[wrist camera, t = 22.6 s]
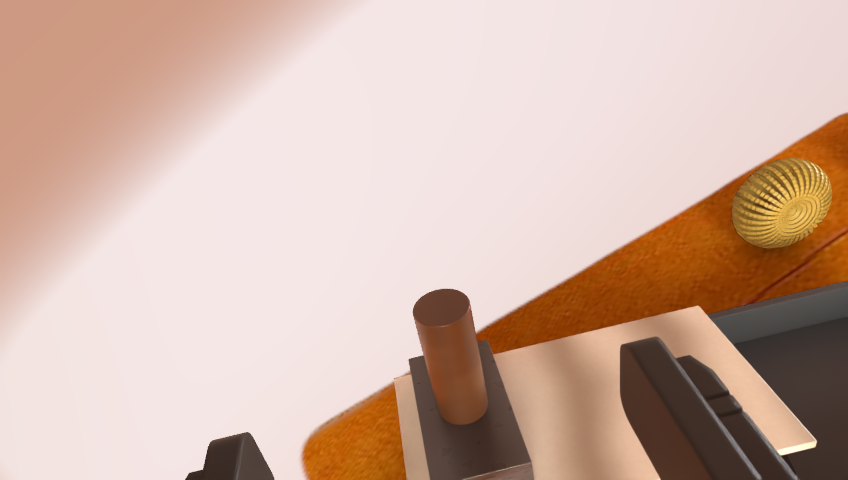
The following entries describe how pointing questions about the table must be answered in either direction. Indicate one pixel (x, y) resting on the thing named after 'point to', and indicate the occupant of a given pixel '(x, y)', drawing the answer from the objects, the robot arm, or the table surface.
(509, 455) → the stamp with brown handle
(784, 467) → the robot arm
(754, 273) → the table surface
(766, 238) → the sculpture
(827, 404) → the bin
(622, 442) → the beige flat block
